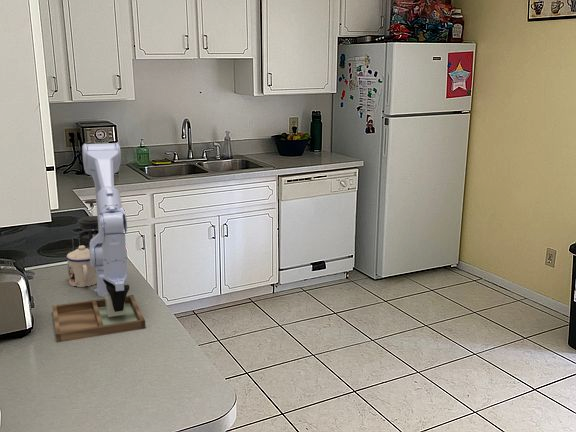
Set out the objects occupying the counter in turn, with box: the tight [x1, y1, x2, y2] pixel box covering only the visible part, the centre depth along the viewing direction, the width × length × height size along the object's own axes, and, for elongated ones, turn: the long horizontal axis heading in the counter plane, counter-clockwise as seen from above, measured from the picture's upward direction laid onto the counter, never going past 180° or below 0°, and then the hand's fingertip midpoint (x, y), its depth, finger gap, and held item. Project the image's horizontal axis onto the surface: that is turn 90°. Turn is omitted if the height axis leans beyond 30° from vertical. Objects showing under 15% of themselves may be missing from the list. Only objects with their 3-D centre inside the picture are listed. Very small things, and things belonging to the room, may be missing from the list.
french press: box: [71, 199, 100, 251], centre depth 189 cm, size 12×9×23 cm
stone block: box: [104, 293, 126, 317], centre depth 154 cm, size 4×4×5 cm
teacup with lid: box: [65, 244, 97, 288], centre depth 178 cm, size 12×9×12 cm
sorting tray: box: [51, 294, 147, 343], centre depth 153 cm, size 18×21×3 cm
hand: (117, 307), depth 154 cm, fingers closed on stone block, 4 cm apart
